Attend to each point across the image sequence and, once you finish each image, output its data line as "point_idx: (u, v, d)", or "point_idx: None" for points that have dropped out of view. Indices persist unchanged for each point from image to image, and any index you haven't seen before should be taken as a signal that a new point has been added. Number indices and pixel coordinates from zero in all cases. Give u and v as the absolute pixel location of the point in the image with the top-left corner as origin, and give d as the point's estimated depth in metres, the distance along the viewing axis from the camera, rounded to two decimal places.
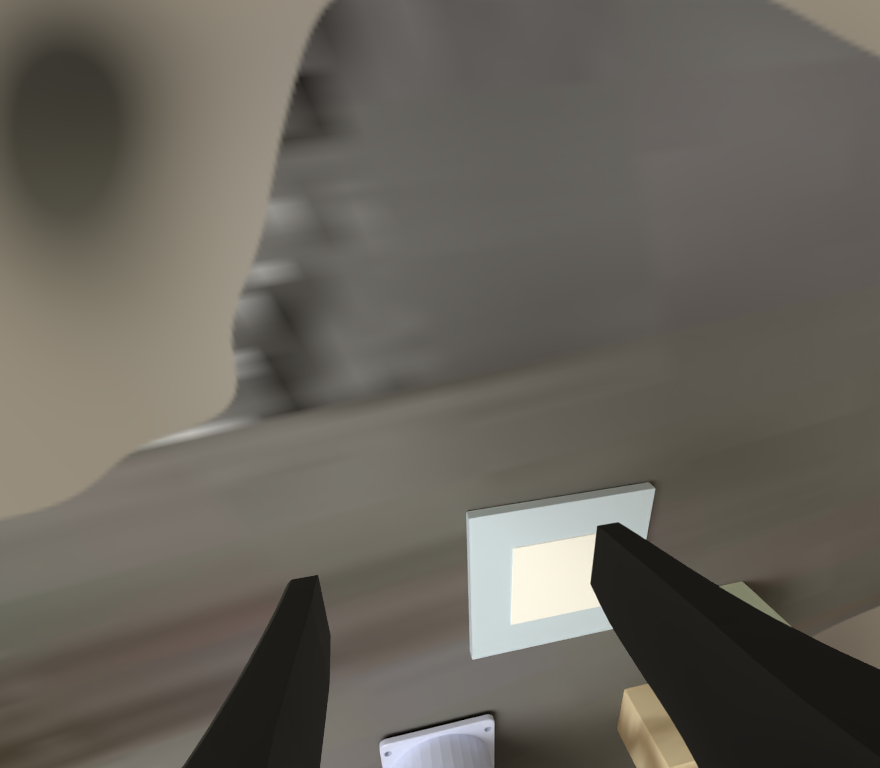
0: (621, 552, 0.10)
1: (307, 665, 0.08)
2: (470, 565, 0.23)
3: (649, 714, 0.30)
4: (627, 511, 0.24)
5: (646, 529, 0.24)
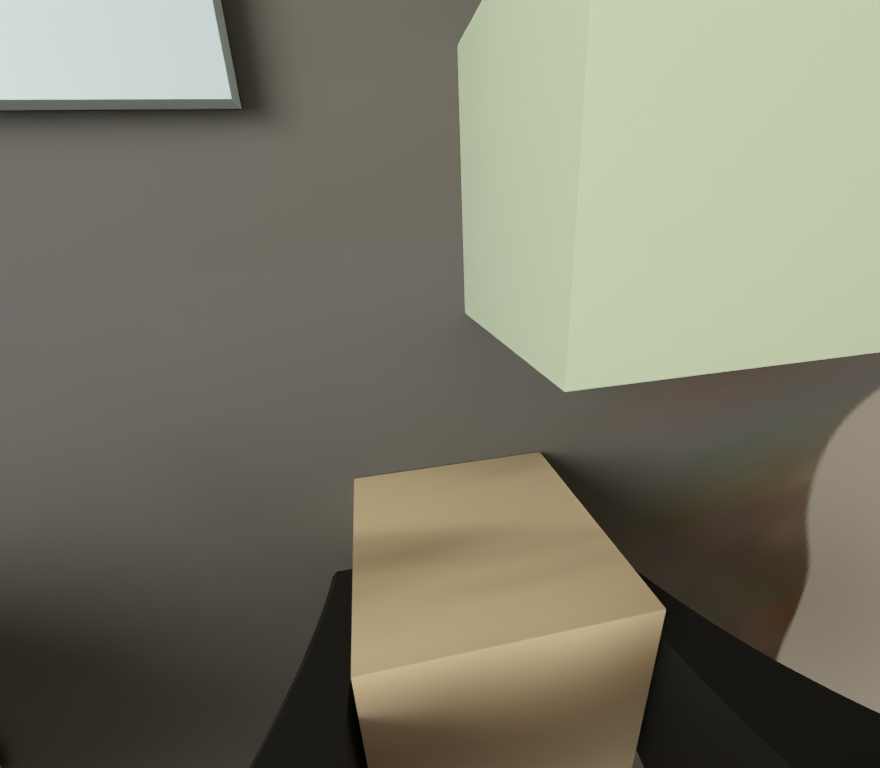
0: None
1: None
2: None
3: (388, 525, 0.09)
4: None
5: None
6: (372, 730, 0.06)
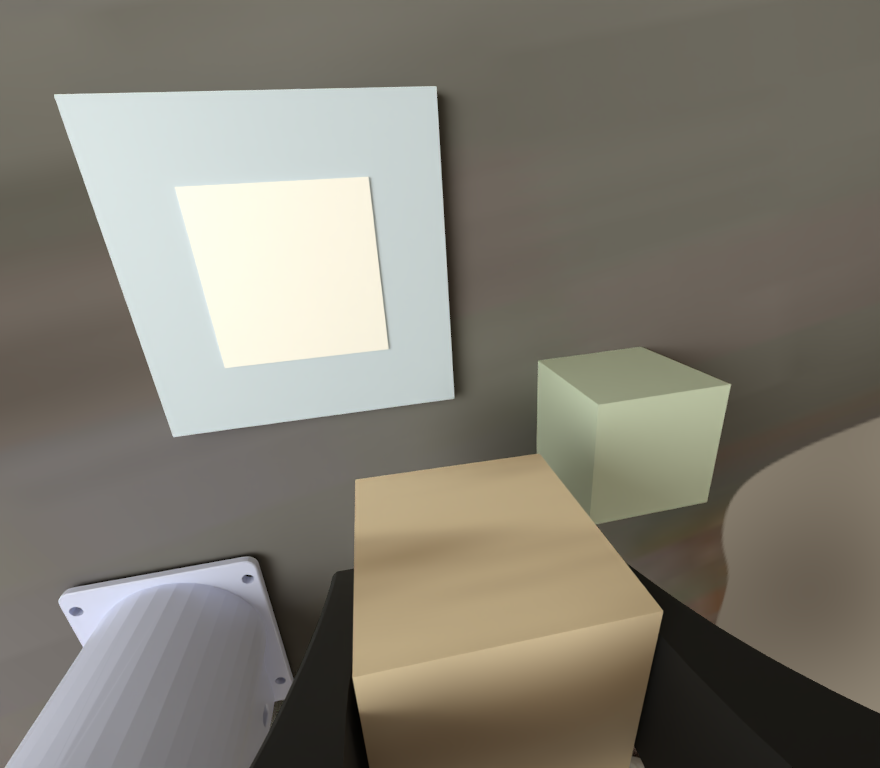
0: None
1: None
2: (99, 219, 0.13)
3: (389, 526, 0.09)
4: (392, 136, 0.13)
5: (439, 187, 0.14)
6: (373, 729, 0.06)
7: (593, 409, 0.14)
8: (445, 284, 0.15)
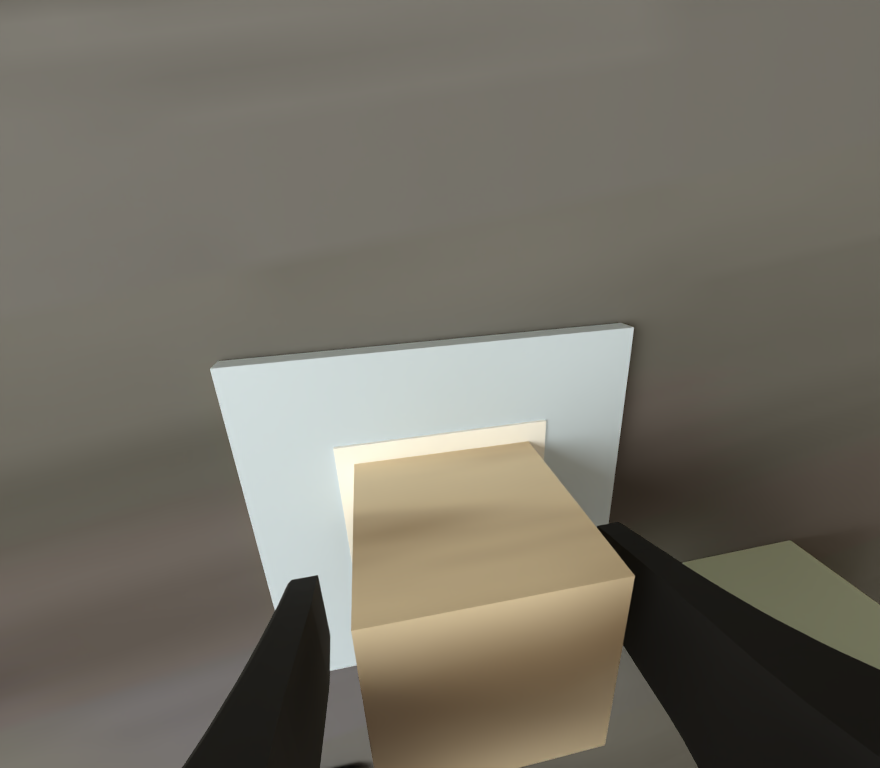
0: (621, 552, 0.10)
1: (307, 665, 0.08)
2: (243, 484, 0.11)
3: (386, 505, 0.09)
4: (578, 378, 0.12)
5: (618, 423, 0.12)
6: (370, 681, 0.07)
7: None
8: (607, 512, 0.14)
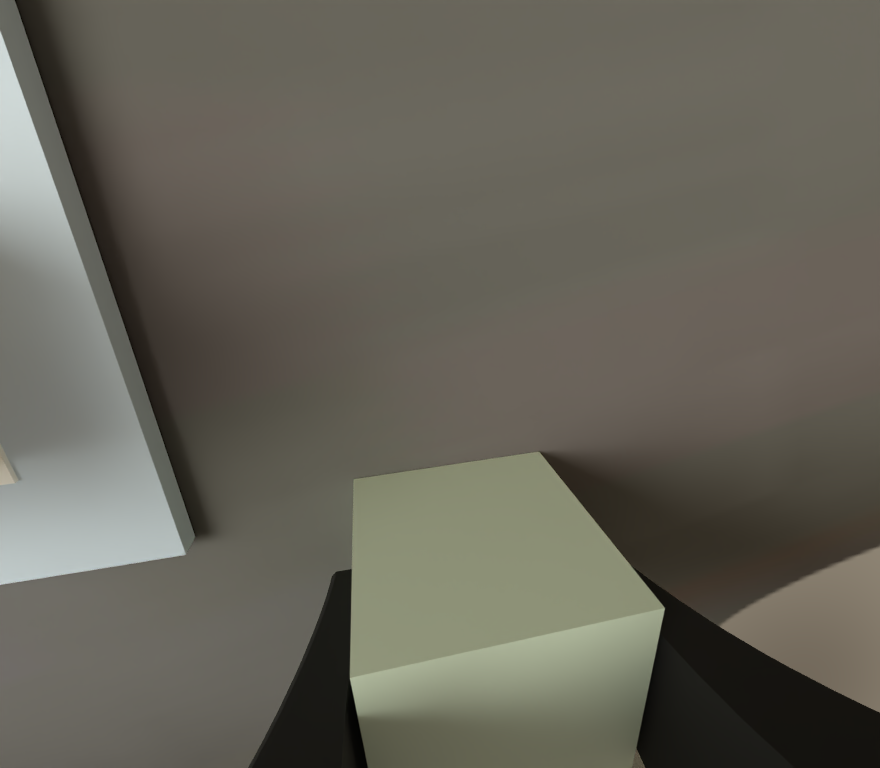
0: None
1: None
2: None
3: None
4: None
5: (41, 169, 0.07)
6: None
7: (352, 672, 0.06)
8: (112, 363, 0.08)
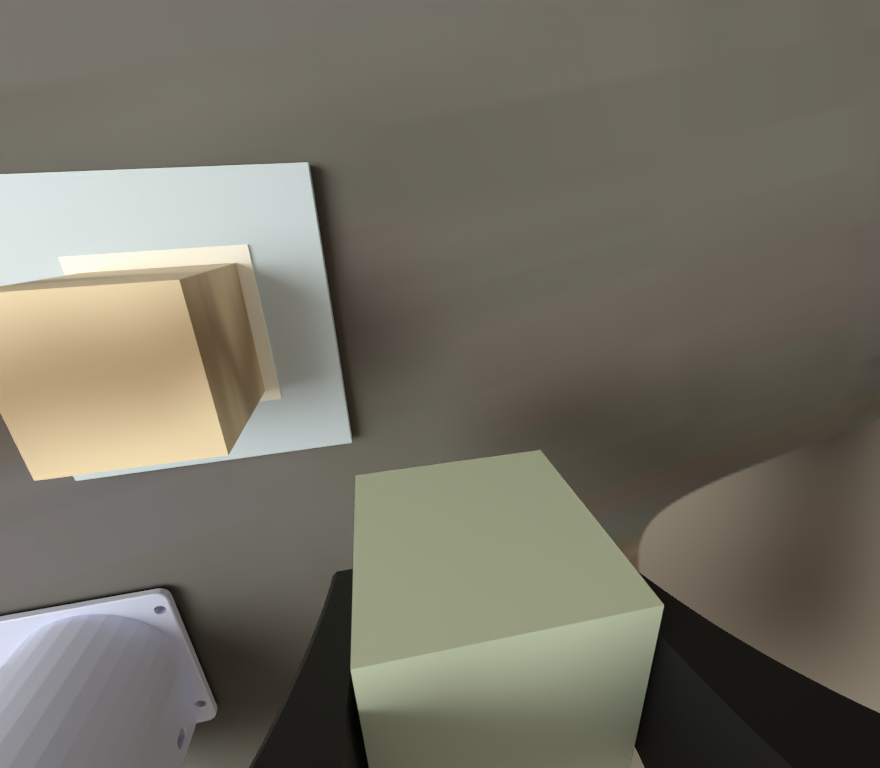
0: None
1: None
2: None
3: (66, 278, 0.12)
4: (268, 207, 0.14)
5: (318, 252, 0.15)
6: None
7: (353, 664, 0.06)
8: (333, 339, 0.16)
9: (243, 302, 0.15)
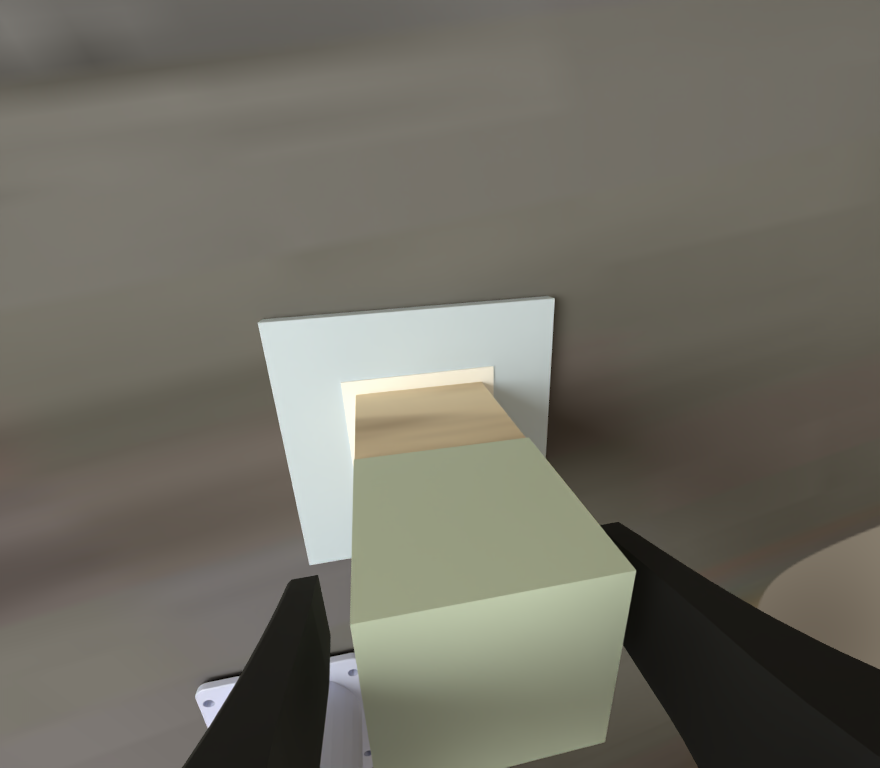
0: None
1: (307, 665, 0.08)
2: (277, 408, 0.15)
3: (377, 414, 0.14)
4: (515, 335, 0.16)
5: (548, 369, 0.17)
6: None
7: (352, 621, 0.07)
8: (544, 440, 0.18)
9: None
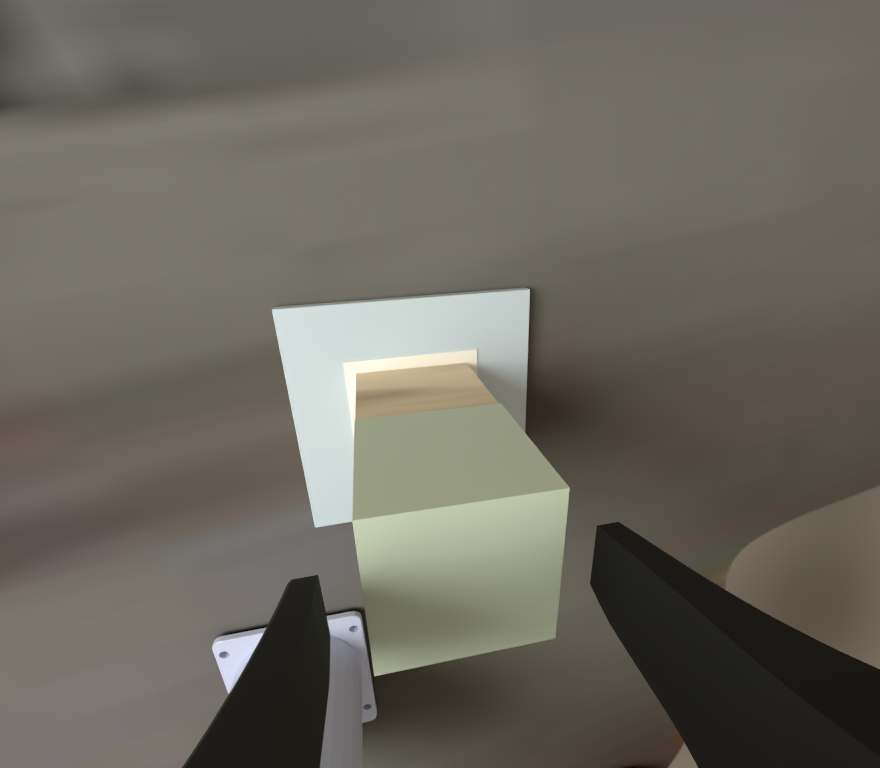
0: (621, 552, 0.10)
1: (307, 665, 0.08)
2: (287, 384, 0.18)
3: (374, 387, 0.16)
4: (496, 322, 0.18)
5: (525, 352, 0.19)
6: None
7: (353, 522, 0.09)
8: (524, 416, 0.20)
9: None
